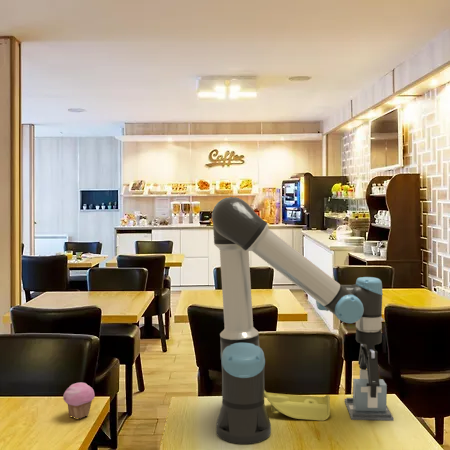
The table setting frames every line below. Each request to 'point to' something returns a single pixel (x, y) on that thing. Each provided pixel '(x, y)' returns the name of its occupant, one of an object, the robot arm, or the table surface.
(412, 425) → the table surface
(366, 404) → the block
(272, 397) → the plastic component
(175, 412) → the table surface
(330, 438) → the table surface
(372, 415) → the rail mount
